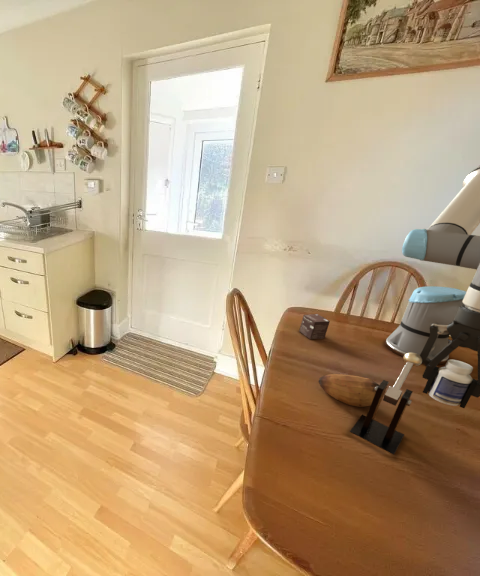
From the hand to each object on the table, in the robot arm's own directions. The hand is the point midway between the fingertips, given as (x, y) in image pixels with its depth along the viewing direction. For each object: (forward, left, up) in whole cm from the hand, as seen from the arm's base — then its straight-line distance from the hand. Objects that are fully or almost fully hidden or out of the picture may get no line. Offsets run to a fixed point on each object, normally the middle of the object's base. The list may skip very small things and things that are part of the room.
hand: (443, 397), depth 74 cm
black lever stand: (+16, -7, -8) cm, 19 cm away
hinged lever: (+10, -7, +5) cm, 13 cm away
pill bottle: (0, 0, -1) cm, 1 cm away
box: (-25, -36, -8) cm, 45 cm away
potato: (+8, -16, -8) cm, 19 cm away
